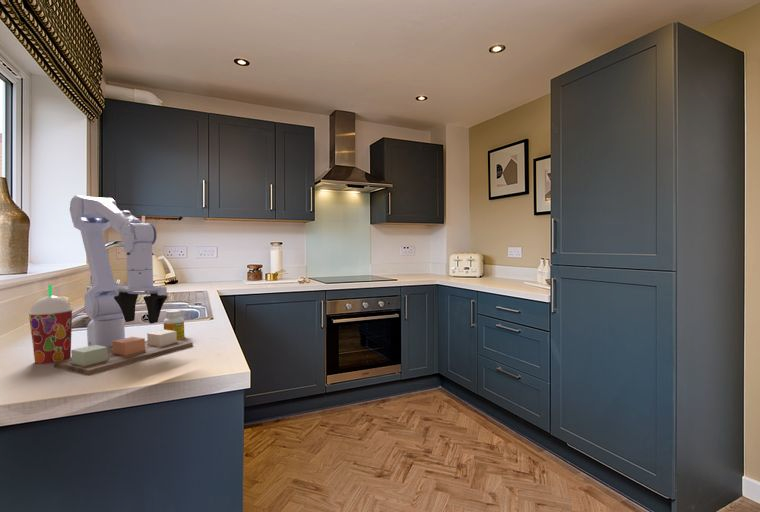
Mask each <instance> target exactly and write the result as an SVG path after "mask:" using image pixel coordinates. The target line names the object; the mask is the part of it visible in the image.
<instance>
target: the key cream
mask: <svg viewBox="0 0 760 512" xmlns="http://www.w3.org/2000/svg"><path fill="white" fill-rule="evenodd" d="M146 334H147V340H148V345H152V346H158V347H160V346H164V345H168V344H172V343H176V342H177V333H176V331H171V330H164V329H161V330H157V331H153V332H148V333H146Z"/></svg>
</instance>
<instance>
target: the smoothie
mask: <svg viewBox="0 0 760 512" xmlns="http://www.w3.org/2000/svg"><path fill="white" fill-rule="evenodd" d="M52 286H53V284H48V292H47V293H48V295H45V296H43V297H41V298H39V299H37V300H36V301H35V302H34V303H33V305H32V306H31V308H30V311H28V317H29V318H28V319H29V325H30V333H31V334H30V335H31V342H32V348H33V356H34V357H33V358H34V363H35V364H36V365H45V364H54V362H58V361H62V360H66V359H71V358H72V351H71V350H72V329H73V327H72V326H73V309H74V308H73V307H72V306H71V305H70V303H69V302H68V301H67V300H66V299H65V298H63V297H61V296H57V295H53V287H52Z"/></svg>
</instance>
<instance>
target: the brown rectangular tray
mask: <svg viewBox="0 0 760 512" xmlns="http://www.w3.org/2000/svg"><path fill="white" fill-rule="evenodd" d="M193 343H194V342H192V341H186V340H181V339H180V340H177V342H176V343H172V344H168V345H164V346H160V347H158V346H152V345H148V339H147V340H145V351H141V352H137V353H133V354H129V355H125V356H124V355H118V354H113V348H109V349H107V350H108V360H106V361H102V362H98V363H94V364H90V365H87V366H80V365H76V364H72V357H71V358H69V359H66V360H62V361H58V362H54V363H53V367H54V368H57V369H61V370H65V371H69V372H73V373H78V374H83V375H86V376H91V375H93V374H94V375H95V374H97V373H101V372H105V371H108V370H113V369H115V368H119V367H123V366H125V365H126V366H127V365H130V364H134V363H136V362H137V363H138V362H140V361H141V362H142V361H144V360H147V359H152V358H155V357H159V356H162V355H166V354H170V353H173V352H176V351H181V350H184V349H187V348H191V347H193V346H194V344H193Z"/></svg>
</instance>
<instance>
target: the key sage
mask: <svg viewBox="0 0 760 512" xmlns="http://www.w3.org/2000/svg"><path fill="white" fill-rule="evenodd" d="M108 350H109V349H108V347H104V346H99V345H92V346H88V345H87V346H84V347H78V348H75V349H71V358H72V364H76V365H80V366H87V365H90V364H94V363H98V362H102V361H106V360H108Z"/></svg>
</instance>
